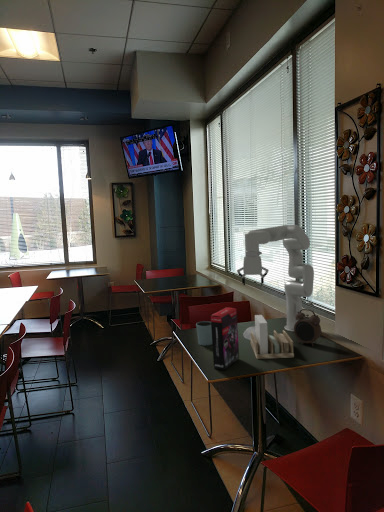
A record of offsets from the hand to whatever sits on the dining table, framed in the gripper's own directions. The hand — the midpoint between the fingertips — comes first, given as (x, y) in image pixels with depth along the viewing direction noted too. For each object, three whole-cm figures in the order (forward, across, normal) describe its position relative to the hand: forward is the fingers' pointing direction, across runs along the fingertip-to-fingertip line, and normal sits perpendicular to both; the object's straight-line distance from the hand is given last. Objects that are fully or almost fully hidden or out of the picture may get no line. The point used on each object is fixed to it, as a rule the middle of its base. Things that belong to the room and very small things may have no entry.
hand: (253, 284), depth 203 cm
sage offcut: (+36, -10, +4) cm, 38 cm away
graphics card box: (+36, +14, +24) cm, 46 cm away
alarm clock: (+36, -30, -8) cm, 47 cm away
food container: (+36, -1, -19) cm, 41 cm away
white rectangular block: (+36, -4, +5) cm, 36 cm away
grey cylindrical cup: (+36, +29, -5) cm, 47 cm away
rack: (+36, -9, +4) cm, 37 cm away
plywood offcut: (+36, -16, +3) cm, 39 cm away
